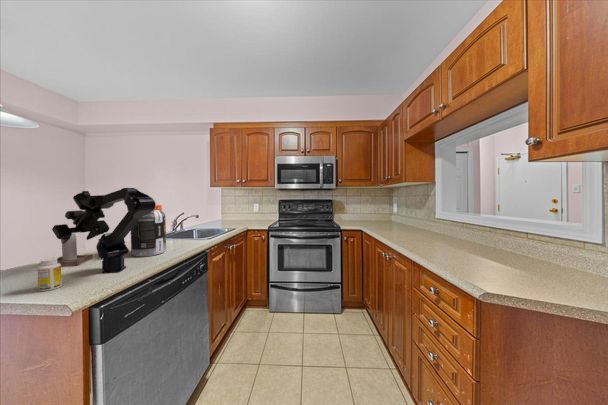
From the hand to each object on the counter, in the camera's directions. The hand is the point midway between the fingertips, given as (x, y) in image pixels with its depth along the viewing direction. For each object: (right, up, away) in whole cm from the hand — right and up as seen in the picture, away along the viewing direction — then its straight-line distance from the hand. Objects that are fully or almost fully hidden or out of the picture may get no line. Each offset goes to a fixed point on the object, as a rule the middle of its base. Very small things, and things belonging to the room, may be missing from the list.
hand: (75, 241), depth 109 cm
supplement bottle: (+17, -12, -26) cm, 33 cm away
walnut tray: (-4, -10, +2) cm, 12 cm away
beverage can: (-4, -9, +2) cm, 11 cm away
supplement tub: (+21, -10, +20) cm, 30 cm away
